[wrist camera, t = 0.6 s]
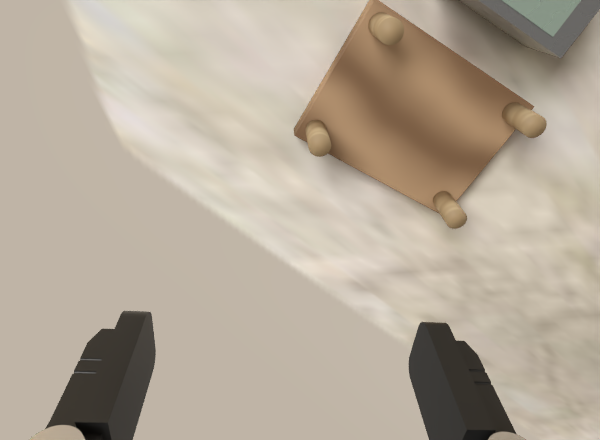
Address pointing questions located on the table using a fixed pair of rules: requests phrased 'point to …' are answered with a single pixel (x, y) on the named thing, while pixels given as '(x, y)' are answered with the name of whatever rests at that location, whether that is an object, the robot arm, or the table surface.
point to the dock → (412, 112)
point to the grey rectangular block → (539, 20)
